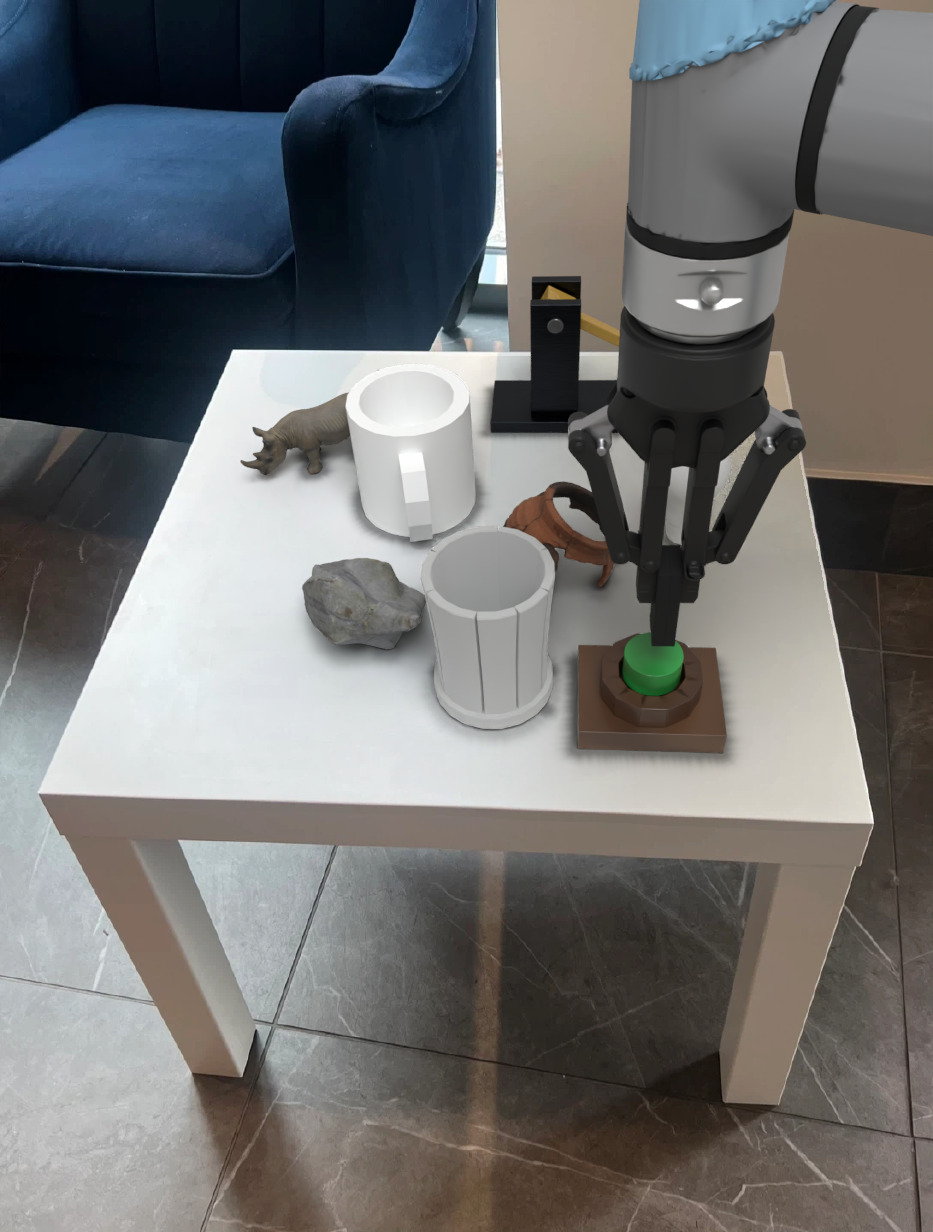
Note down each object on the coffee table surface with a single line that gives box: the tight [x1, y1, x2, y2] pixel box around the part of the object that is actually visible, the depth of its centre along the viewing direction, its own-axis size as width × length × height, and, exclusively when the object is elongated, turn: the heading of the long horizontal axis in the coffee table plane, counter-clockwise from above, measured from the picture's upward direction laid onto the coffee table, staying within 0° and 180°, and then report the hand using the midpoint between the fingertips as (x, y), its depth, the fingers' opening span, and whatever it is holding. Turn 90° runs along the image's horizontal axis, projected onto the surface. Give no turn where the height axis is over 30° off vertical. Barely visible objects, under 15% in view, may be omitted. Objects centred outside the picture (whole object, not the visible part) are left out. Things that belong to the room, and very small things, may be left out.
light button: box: [622, 631, 684, 696], centre depth 69 cm, size 4×4×2 cm
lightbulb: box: [665, 454, 732, 545], centre depth 80 cm, size 6×6×11 cm
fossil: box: [301, 557, 427, 650], centre depth 76 cm, size 11×9×8 cm
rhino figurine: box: [239, 391, 351, 477], centre depth 92 cm, size 4×14×6 cm, turn 118°
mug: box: [346, 363, 476, 543], centre depth 85 cm, size 14×10×11 cm
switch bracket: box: [490, 275, 618, 434], centre depth 93 cm, size 12×7×13 cm, turn 86°
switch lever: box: [540, 286, 620, 348], centre depth 91 cm, size 13×4×4 cm, turn 85°
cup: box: [420, 525, 556, 730], centre depth 71 cm, size 10×9×12 cm
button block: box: [577, 632, 728, 754], centre depth 71 cm, size 10×8×4 cm
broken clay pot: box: [502, 480, 616, 588], centre depth 80 cm, size 12×10×8 cm
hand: (661, 630), depth 66 cm, fingers closed
